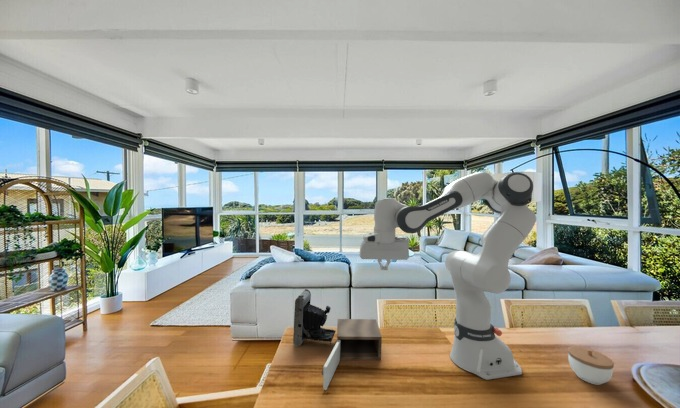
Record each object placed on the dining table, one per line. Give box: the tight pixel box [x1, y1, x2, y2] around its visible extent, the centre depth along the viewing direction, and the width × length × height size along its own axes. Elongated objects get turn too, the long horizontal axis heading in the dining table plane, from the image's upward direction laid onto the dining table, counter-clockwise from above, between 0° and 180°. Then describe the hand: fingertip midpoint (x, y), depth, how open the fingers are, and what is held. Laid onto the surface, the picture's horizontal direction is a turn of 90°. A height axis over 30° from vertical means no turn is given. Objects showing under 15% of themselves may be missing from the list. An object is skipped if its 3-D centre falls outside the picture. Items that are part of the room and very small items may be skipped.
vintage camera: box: [292, 288, 337, 347], centre depth 100 cm, size 10×16×20 cm, turn 79°
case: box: [336, 318, 382, 361], centre depth 96 cm, size 16×13×8 cm
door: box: [321, 340, 341, 391], centre depth 82 cm, size 15×2×7 cm, turn 163°
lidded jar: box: [567, 345, 615, 386], centre depth 82 cm, size 11×11×9 cm
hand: (383, 269), depth 103 cm, fingers closed
